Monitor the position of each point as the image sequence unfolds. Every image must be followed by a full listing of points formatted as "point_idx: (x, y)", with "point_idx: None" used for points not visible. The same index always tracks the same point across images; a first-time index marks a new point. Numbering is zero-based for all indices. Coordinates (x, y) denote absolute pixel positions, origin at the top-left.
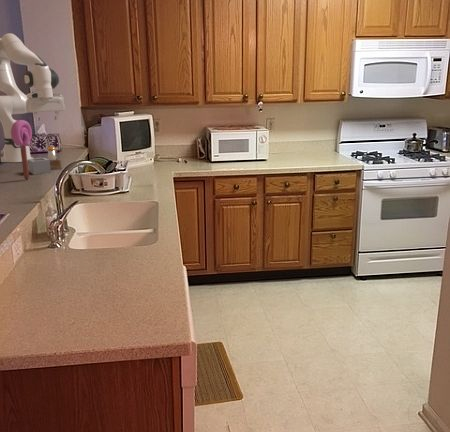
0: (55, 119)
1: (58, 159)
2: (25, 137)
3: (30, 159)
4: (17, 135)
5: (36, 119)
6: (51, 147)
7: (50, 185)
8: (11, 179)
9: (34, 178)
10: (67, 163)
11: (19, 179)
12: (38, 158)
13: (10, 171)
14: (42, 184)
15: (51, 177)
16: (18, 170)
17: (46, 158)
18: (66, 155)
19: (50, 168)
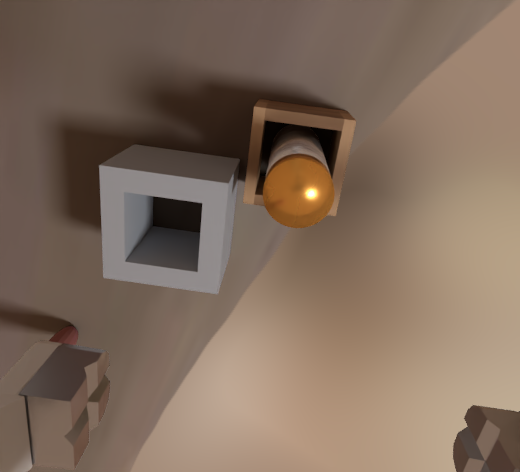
0: (465, 462)
1: (338, 179)
2: None
3: (113, 189)
4: None
5: (26, 360)
6: (300, 197)
7: (130, 463)
8: (9, 271)
9: (111, 323)
10: (487, 11)
11: (44, 297)
12: (175, 190)
13: (31, 29)
14: (109, 435)
15: (185, 355)
16: (85, 32)
17: (222, 232)
18: None
19: (226, 265)
